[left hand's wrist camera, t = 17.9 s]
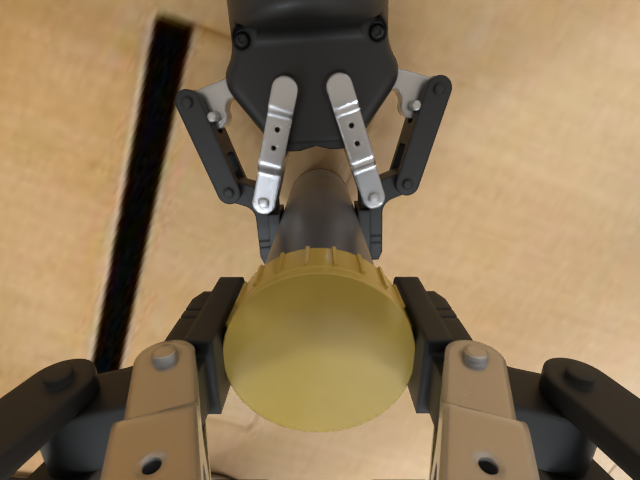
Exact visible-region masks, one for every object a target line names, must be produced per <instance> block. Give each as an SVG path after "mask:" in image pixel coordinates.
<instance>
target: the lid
mask: <svg viewBox="0 0 640 480" xmlns="http://www.w3.org/2000/svg"><path fill="white" fill-rule="evenodd" d="M404 307H405V305H404V303H403V300H402V298H401V296H400V293H399V291H398V289H397V286H396V285H395V284H394V285H392V284H391V282H390V281H389V280H388V279H387V277H386V276H385V275H384V273H383V271H382V268H381V267H378V268H377V267H375V266H374V265H372V264H371V263H370V262H368V261H367V260H365V259H363V258H362V257H361V254H357V255H354V254H351V253H348V252H345V251H341V250H337V249H336V247H333V246H332V249H329V248H310V246H306V248H305V249H302V250H297V251H294V252H290V253H287V254H285V253H284V252H283V253H280V257H277V258H276V259H274V260H272V261H271V262H269V263H267V264H266V265H265V266H263V265H260V266H259V268H258V271H257V273H256V274H255V275H254V276H253V277H252V278H251V279H250V281H249V282H248V283H247V282H245V283H244V284H243V286H242V289H241V291H240V293H239V295H238V298H237V300H236V302H235V304H234V306H233V309H232V311H231V313H230V316H229V318H228V320H227V322H226V327H227V329H226V332H225V336H224V341H223V355H224V364H225V371H226V374H227V377H228V380H229V382H230V384H231V386H232V387H233V389H234V390H235V392H236V393H237V395H238V396H239V397H240V398H241V400H242V401H243V402H244V403H245V404H246V405H247V406H248V407H250V408H251V409H252V410H253V411H254V412H256V413H257V414H259V415H260V416H262V417H263V418H265V419H267V420H269V421H271V422H273V423H276V424H278V425H280V426H283V427H287V428H290V429H294V430H300V431H307V432H332V431H339V430H344V429H348V428H352V427H355V426H358V425H361V424H363V423H365V422H367V421H370V420H372V419H373V418H375V417H377V416H378V415H380V414H381V413H383V412H384V411H385V410H387V409H388V408H389V407H390V406H391V405H392V404H393V403H394V402H395V401H396V400H397V399H398V398H399V397H400V395H401V394H402V393H403V391H404V390H405V388H406V386H407V385H408V383H409V381H410V378H411V376H412V371H413V363H414V354H415V339H414V335H413V331H412V325H411V323H410V320H409V318H408V316H407V313H406V311H405V308H404Z"/></svg>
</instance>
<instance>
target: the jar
mask: <svg viewBox="0 0 640 480" xmlns="http://www.w3.org/2000/svg"><path fill="white" fill-rule="evenodd" d="M306 246H310V248H329V249H332V246H333V247H336V249H337V250H341V251H345V252H348V253H351V254H354V255H357V254H361V257H362V258H363V259H365V260H367V261H368V262H370V263H371V264H372V265H374V264H373V261H372V258H371V255H370V253H369V250H368V247H367V244H366V241H365V238H364V235H363V232H362V230H361V227H360V224H359V221H358V218H357V215H356V212H355V210H354V207H353V204H352V201H351V198H350V195H349V192H348V190H347V187H346V185H345V183H344V181H343V180H342V179H341V178H340V177H339V176H338V175H337V174H335V173H334V172H332V171H329V170H325V169H314V170H310V171H308V172H306V173H304V174H303V175H301V176H300V177H299V178H298V179H297V180H296V182H295V183H294V185H293V188H292V190H291V193H290V196H289V199H288V202H287V205H286V207H285V210H284V213H283V216H282V219H281V221H280V224H279V227H278V230H277V233H276V235H275V238H274V241H273V244H272V247H271V249H270V252H269V255H268V258H267V261H266V263H265V265H266V264H267V263H269V262H271V261H272V260H274V259H276V258H277V257H280V253H283V252H284V253H285V254H287V253H290V252H294V251H297V250H302V249H305V248H306Z"/></svg>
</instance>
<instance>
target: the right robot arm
mask: <svg viewBox="0 0 640 480" xmlns="http://www.w3.org/2000/svg"><path fill="white" fill-rule="evenodd" d="M227 5H228V14H229V22H230V30H231V38H232V55H231V60H230V63H229V66H228V68H227V72H226V79H224V80H221V81H219V82H216V83H214V84H211V85H209V86H207V87H204V88H202V89H199V90H196V91H195V90H189V89H183V90H181V91H179V92H178V93H177V95H176V97H175V104H176V107H177V109H178V111H179V113H180V116H181V118H182V120H183V122H184V124H185V126H186V128H187V131H188V133H189V135H190V137H191V139H192V141H193V143H194V145H195V148H196V150H197V152H198V154H199V156H200V158H201V160H202V163H203V165H204V167H205V169H206V171H207V173H208V175H209V177H210V180H211V182H212V184H213V186H214V188H215V190H216V192H217V195H218V197H219V198H220V200H221V201H222V202H224V203H226V204H233V203H236V204H240V205H243V206H246V207H248V208H250V209H251V210H252V211H253V212H254V214H255V216H256V221H257V229H258V238H259V246H260V255H261V258H262V260H263V262H264V264H265V263H266V261H267V258H268V255H269V252H270V249H271V247H272V244H273V241H274V238H275V235H276V233H277V230H278V227H279V224H280V221H281V219H282V216H283V213H284V204H283V205H280V203H279V196H280V191H281V186H282V182H283V177H284V172H285V168H286V164H287V160H288V156H289V151H301V150H304V149H307V148H310V147H313V146H319V147H324V148H328V149H342V148H344V151H345V154H346V157H347V160H348V162H349V165H350V168H351V171H352V174H353V177H354V180H355V183H356V186H357V189H358V201H354V210H355V212H356V215H357V218H358V221H359V224H360V227H361V230H362V232H363V235H364V238H365V241H366V244H367V247H368V250H369V253H370V255H371V258H372V260H375V259H379V257H380V255H381V252H382V210H383V207H384V205H385V204H386V202H388V201H389V200H390V199H393V198H395V197H398V196H400V195H411V194H413V193H414V192H416V190H417V189H418V187H419V184H420V181H421V178H422V175H423V172H424V169H425V166H426V163H427V160H428V157H429V155H430V152H431V149H432V146H433V143H434V140H435V137H436V134H437V131H438V128H439V125H440V123H441V120H442V117H443V114H444V111H445V108H446V105H447V102H448V99H449V96H450V94H451V90H452V84H451V81H450V80H449V78H448V77H446V76H444V75H438V76H432V77H427V76H424V75H420V74H416V73H413V72H409V71H406V70H402V69H398V64H397V61H396V58H395V56H394V55H393V53H392V50H391V48H390V44H389V39H388V0H227ZM391 90H393V91H394V92H395V93H396V94H397V96H398V112H399V113H400V115H401V116H403V117H405V122H404V125H403V128H402V131H401V135H400V138H399V141H398V144H397V147H396V151H395V154H394V157H393V160H392V164H391V167H390V170H389V171H387V172H385V173H382V174H380V175H379V174H378V171H377V168H376V164H375V158H374V154H373V151H372V148H371V145H370V141H369V138H368V135H367V131H366V128H367V126H368V125H369V123H370V122H371V120H372V119H373V117H374V116H375V114H376V112H377V111H378V109H379V108H380V106H381V105H382V103H383V102H384V100H385V99H386V97H387V96H388V94H389V93H390V91H391ZM234 99H235V100H236V101H237V102H238V103H239V104H240V106H241V107H242V108H243V109H244V110H245V112H246V113H247V114H248V115H249V116H250V118H251V119H252V120H253V121H254V123H255V124H256V125H257V126H258V127H259V129H260V130H261V131H262V132H263V133H264V135H263V141H262V146H261V151H260V157H259V162H258V175H257V180H256V181H254V180H251V179H248V178H246V175H245V173H244V171H243V168H242V166H241V164H240V161H239V159H238V157H237V154H236V152H235V150H234V147H233V145H232V143H231V141H230V138H229V136H228V134H227V131H226V129H225V127H227V126H228V125H229V124H230V122H231V112H230V105H231V103H232V101H233V100H234Z"/></svg>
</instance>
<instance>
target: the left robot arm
mask: <svg viewBox="0 0 640 480" xmlns="http://www.w3.org/2000/svg"><path fill="white" fill-rule="evenodd" d="M244 283H245V281H244V278H243V277H221V278H220V279H219V280H218V282H217V284H216V285H215V287H214V289H213V290H212V292H203V293H201V294H200V295H198V296H197V297H195V298H194V299H192V301H191V302H190V304H189V305H188V307H187V308H186V311H184V313H183V314H182V316H181V318H180V319H179V320H178V322H177V323H176V325H175V326H174V328H173V329H172V331H171V332H170V334H169V335H168V337H167V338H166V340H165V341H164V342H160V343H157V344H155V345H152V346H150V347H148V348H147V349H145V350H144V351H142V352H141V353H140V354H139V355H138V356H137V358H136V359H135V361H134V365H133V366H131V367H128V368H124V369H120V370H115V371H110V372H105V373H101V374H97V371H96V367H95V365H94V363H93V362H91V361H89V360H86V359H71V360H66V361H62V362H59V363H56V364H53V365H51V366H48V367H46V368H44V369H42V370H41V371H39V372H37V373H36V374H34V375H33V376H32V377H30V378H29V379H27V380H26V381H25V382H23V383H22V384H20V385H19V386H17V387H16V388H15V389H13V390H12V391H10V392H9V393H8V394H6V395H5V396H3V397H2V398H0V480H232V479H230V478H227V477H224V476H221V475H216V474H211V472H210V460H209V449H208V437H207V429H206V422H205V420H206V417H207V415H208V414H221V413H222V410H223V407H224V404H225V400H226V397H227V394H228V391H229V388H230V385H231V384H230V382H229V380H228V377H227V374H226V371H225V364H224V355H223V341H224V336H225V332H226V329H227V327H226V322H227V320H228V318H229V316H230V313H231V311H232V309H233V306H234V304H235V302H236V300H237V298H238V295H239V293H240V291H241V289H242V286H243V284H244ZM394 284H395V285H396V286H397V289H398V291H399V293H400V296H401V298H402V300H403V303H404V305H405V307H404V308H405V311H406V313H407V316H408V318H409V320H410V323H411V325H412V331H413V335H414V339H415V354H414V363H413V371H412V376H411V378H410V381H409V383H408V388H409V391H410V395H411V398H412V401H413V404H414V407H415V410H416V413H430V416H431V419H432V421H433V424H434V429H433V437H432V449H431V460H430V471H429V480H614V479H613V478H612V477H611V476H610V475H609V474H608V473H607V472H606V471H605V470H604V469H603V468H602V467H601V466H600V465H599V464H598V463H596V462H595V461H594V460H593V456H594V453H595V451H596V448H597V447H598V448H599V449H600V450H601V451H603V452H604V453H605V454H606V455H607V456H608V457H609V458H610V459H611V460H612V461H613V462H614V463H616V464H617V465H618V466H619V467H620V468H621V469H622V470H623V471H624V472H625V473H626V474H628V475H629V476H630V477H631V478H632V479H633V480H640V399H639V398H638V397H637V396H635V395H634V394H632V393H631V392H630V391H628V390H627V389H625V388H624V387H623V386H621V385H620V384H618V383H617V382H615V381H614V380H613V379H611V378H610V377H608V376H607V375H606V374H604V373H603V372H601V371H600V370H598V369H596V368H594V367H592V366H590V365H588V364H586V363H583V362H580V361H577V360H573V359H568V358H552V359H549V360H547V361H546V362H545V363H544V365H543V369H542V373H541V374H539V373H535V372H530V371H525V370H520V369H516V368H512V367H508V366H507V365H506V361H505V359H504V358H503V356H502V355H501V354H500V353H499V352H498V351H496V350H495V349H493V348H492V347H490V346H488V345H485V344H483V343H480V342H476V341H473V340H472V338H471V337H470V335H469V334H468V332H467V331H466V329H465V328H464V326H463V325H462V323H461V322H460V320H459V319H458V318H457V316H456V314H455V313H454V311H453V310H452V308H451V307H450V305H449V304H448V302H447V301H446V299H445V298H443V297H442V296H440V295H439V294H437V293H436V292H434V291H426V290H425V289H424V287H423V285H422V283H421V282H420V280H419V278H418V277H395V278H394V281H393V285H394ZM39 450H40V451H41V453H42V456H43V459H44V463H42V464H41V465H40V466H39V467H38V468H37V469H36V470H35V471H34V472H33V473H32V474H31V475H30V476H29V477H28V478H18V477H10V476H11V475H12V474H14V473H15V472H16V471H17V470H18V469H19V468H20V467H21V466H22V465H23V464H24V463H25V462H27V461H28V460H29V459H30V458H31V457H32V456H33V455H34V454H35V453H36V452H37V451H39Z"/></svg>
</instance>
